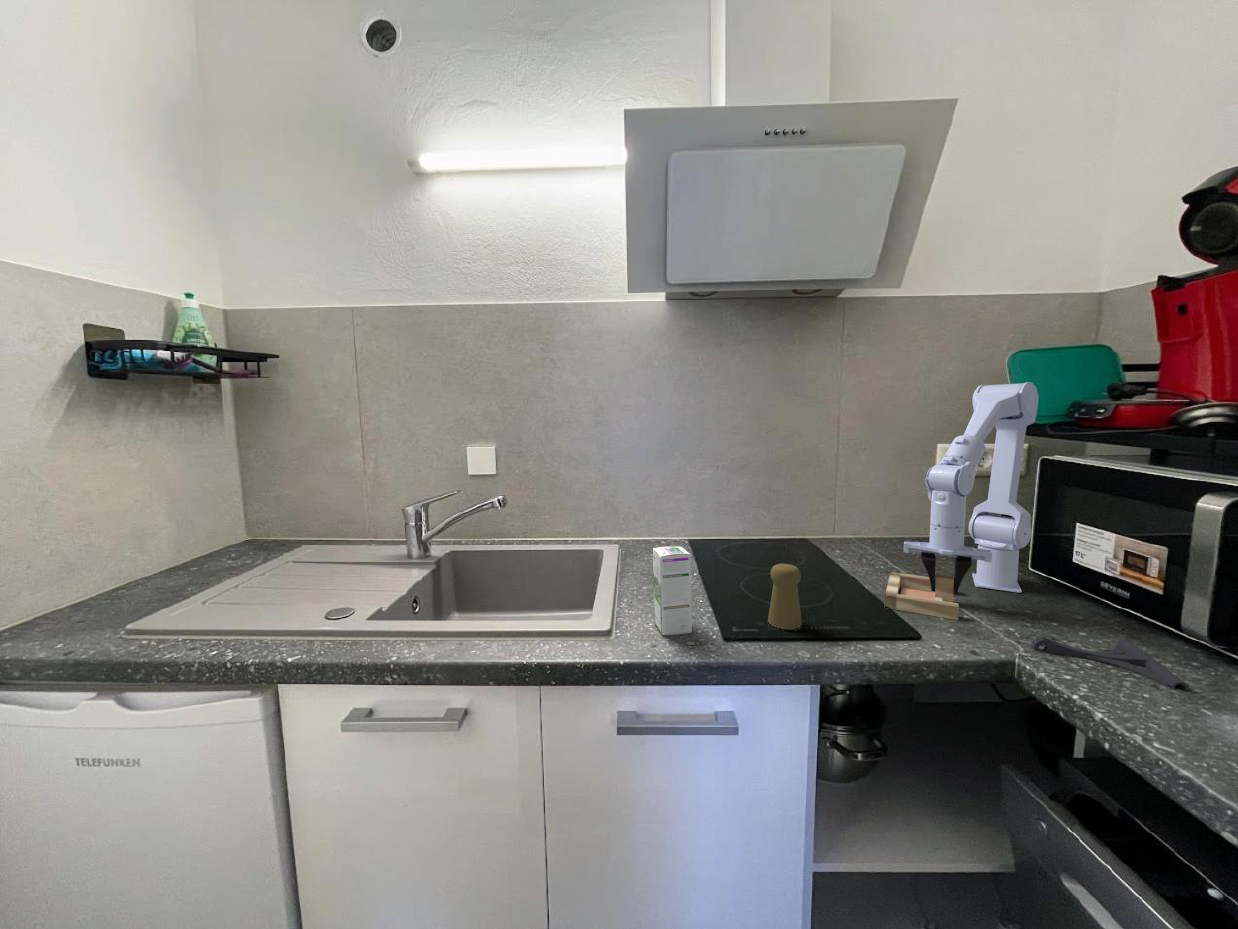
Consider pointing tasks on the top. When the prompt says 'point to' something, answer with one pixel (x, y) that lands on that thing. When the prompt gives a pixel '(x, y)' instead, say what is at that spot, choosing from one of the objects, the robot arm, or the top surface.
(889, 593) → the tile rest
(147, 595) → the top surface
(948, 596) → the wood block with post
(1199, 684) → the top surface
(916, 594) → the terracotta tile
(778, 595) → the cork
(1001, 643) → the top surface
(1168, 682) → the bracket
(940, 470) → the robot arm
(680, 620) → the syrup box
